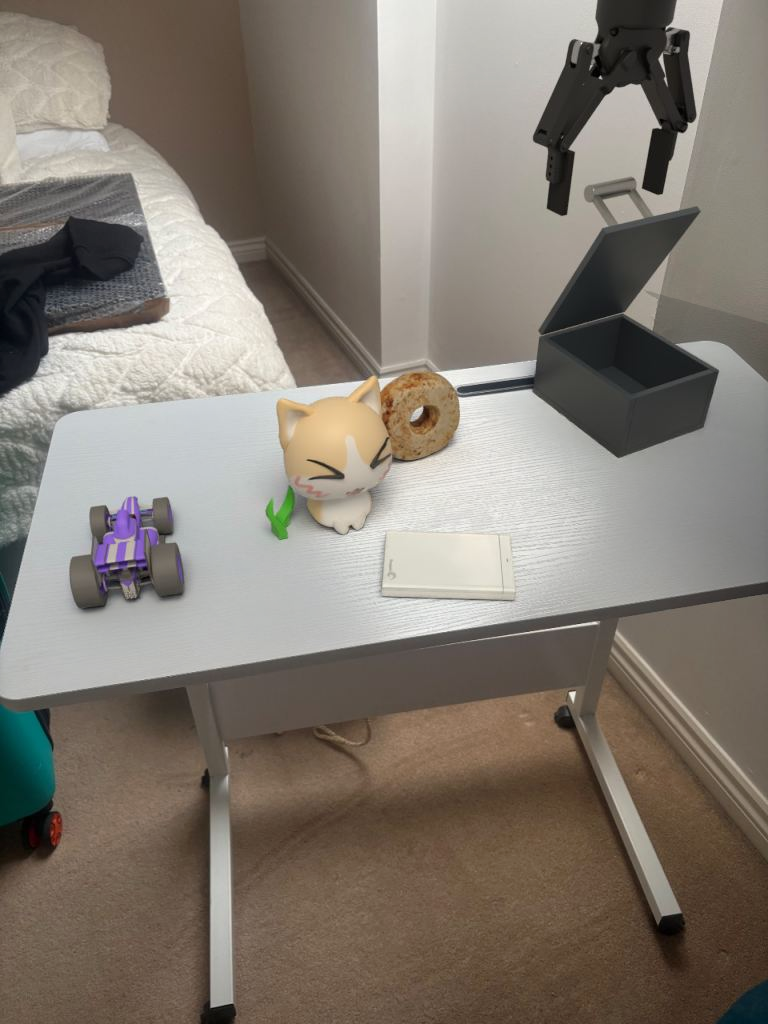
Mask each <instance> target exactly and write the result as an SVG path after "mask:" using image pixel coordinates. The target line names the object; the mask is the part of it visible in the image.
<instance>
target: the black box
mask: <svg viewBox="0 0 768 1024" xmlns="http://www.w3.org/2000/svg"><path fill="white" fill-rule="evenodd" d="M719 373H720V369H718V368H717V367H715V366H713V365H711V364H710V363H708V362H706V361H705V360H703V359H702V358H699V357H698V356H696V355H695V354H693V353H691V352H690V351H688V350H686V349H684V348H683V347H681V346H679V345H677V344H676V343H674V342H672V341H671V340H669V339H667V338H666V337H664V336H663V335H661V334H659V333H658V332H656V331H654V330H652V329H650V328H649V327H647V326H645V324H642V323H640V322H638V321H637V320H635V319H634V318H631V317H630V316H628V315H626V314H625V313H624V312H623V313H619V314H616V315H612V316H609V317H605V318H602V319H598V320H594V321H591V322H587V323H584V324H580V325H577V326H573V327H569V328H566V329H562V330H559V331H555V332H552V333H548V334H544V335H540V336H538V344H537V353H536V361H535V368H534V378H533V384H532V385H533V386H532V393H534V394H535V395H536V396H537V397H539V398H540V399H542V401H544V402H545V403H546V404H548V405H549V406H550V407H552V408H553V409H554V410H555V411H557V412H558V413H560V414H561V415H562V416H563V417H565V418H566V419H567V420H569V422H571V423H573V424H574V425H575V426H576V427H578V428H579V429H580V430H582V431H583V432H584V433H585V434H587V435H588V436H589V437H591V438H592V439H593V440H594V441H596V442H597V443H598V444H600V446H602V447H603V448H605V449H606V450H608V452H610V453H611V454H613V455H614V457H617V458H619V459H620V458H623V457H624V456H628V455H631V454H633V453H636V452H639V451H642V450H644V449H647V448H649V447H653V446H656V445H658V444H660V443H664V442H666V441H670V440H672V439H675V438H678V437H681V436H683V435H686V434H689V433H691V432H694V431H697V430H701V429H703V428H704V427H705V424H706V420H707V416H708V413H709V409H710V406H711V402H712V398H713V395H714V391H715V388H716V384H717V381H718V377H719Z"/></svg>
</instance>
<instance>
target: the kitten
mask: <svg viewBox="0 0 768 1024" xmlns="http://www.w3.org/2000/svg"><path fill="white" fill-rule="evenodd" d="M379 381H380V380H379V378H378V377H377V375H371V376H370V377H368V378H367V379H366V380H365V381H364V382H363V383H362V384H360V385H359V386H358V387H357V388H356V389H354V390H353V391H351V393H350V394H349V395H348V396H330V397H323V398H321V399H318V400H316V401H314V402H311V403H310V404H305V403H301V402H297V401H293V400H290V399H287V398H285V397H281V398H279V399H278V400H277V401H276V406H275V409H276V416H277V423H278V440H279V441H278V442H279V444H280V447H281V449H282V451H283V454H282V455H283V466H284V471H285V475H286V478H287V481H288V483H289V485H288V486H287V491H286V493H285V497H284V500H283V503H282V505H281V506H280V508H279V509H278V511H277V512H276V514H275V511H274V496H272V497H271V499H270V500H269V501H268V504H267V505H266V508H265V510H264V511H265V516H266V518H267V519H268V520H269V522H270V526H271V532H272V533H273V534H274V535H275V536H276V537H277V538H278V540H283V539H288V537H289V536H288V530H287V527H288V526H289V525H291V521H290V517H291V516H292V513H293V511H294V510H295V504H296V497H295V493H297V494H298V495H300V496H301V497H303V498H305V499H306V506H307V510H308V511H309V513H310V514H311V516H312V517H313V518H314V520H315V521H316V522H317V523H319V524H321V525H322V526H325V527H329V528H334V530H335V531H336V532H337V533H339V534H341V535H346V534H347V533H348V532H349V529H350V526H351V527H352V528H353V529H354V530H356V531H358V530H359V531H360V530H361V529H362V528H363V527H364V524H365V522H366V518H367V516H368V514H369V513H370V512H371V509H372V497H371V494H370V492H369V490H371V489H372V488H374V487H376V486H377V485H378V484H380V483H381V482H383V480H384V479H385V478H386V477H387V475H388V474H389V473H390V470H391V467H392V463H393V456H392V448H391V443H390V437H389V435H388V432H387V429H386V427H385V425H384V423H383V421H382V407H381V396H380V392H381V387H380V382H379Z"/></svg>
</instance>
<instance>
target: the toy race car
mask: <svg viewBox="0 0 768 1024" xmlns="http://www.w3.org/2000/svg"><path fill="white" fill-rule="evenodd" d="M88 515H89V526H90V527H89V528H90V532H91V536H92V537H91V547H90V553H89V554H82V555H74V556H72V557H71V559H70V562H69V570H68V571H69V573H68V575H69V585H70V591H71V594H72V598H73V601H74V603H75V605H76V607H77V608H78V609H85V608H92V607H100V606H104V605H106V602H107V599H108V598H107V597H108V591H110V590H121V591H122V592H121V593H122V596H123V598H124V600H130V599H137V598H139V597H140V590H141V586H145V585H149V584H152V585H153V586H154V590H155V593H156V595H157V596H158V597H167V596H172V595H179V594H183V593H184V590H185V578H184V575H185V574H184V567H183V563H182V562H183V561H182V556H181V551H180V548H179V545H178V544H177V542H176V541H175V542H166V540H165V539H166V537H165V536H166V535H165V534H172V533H173V531H174V517H173V511H172V506H171V501H170V499H169V497H168V496H163V497H155V498H153V499H152V503H151V504H148V505H140V504H139V498H138V496H136V495H133V496H127V497H126V498H125V499H124V501H123V502H122V504H121V507H120V508H117V509H109V508H108V506H107V505H106V504H101V505H95V506H90V508H89V513H88ZM142 516H143V517H142ZM142 520H145V521H142ZM151 522H153V523H154V527H153V526H144V525H143V524H145V523H151ZM143 526H144V527H143ZM99 543H102V544H99ZM107 573H108V575H107ZM144 577H149V578H150V581H145V582H142V579H143V578H144ZM109 582H119V586H109Z"/></svg>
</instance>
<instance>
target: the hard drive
mask: <svg viewBox="0 0 768 1024" xmlns="http://www.w3.org/2000/svg"><path fill="white" fill-rule="evenodd" d="M383 553H384V554H383V565H382V577H381V578H382V579H381V597H388V598H389V597H392V598H397V597H398V598H420V599H421V598H422V599H424V598H425V599H428V598H429V599H459V600H460V599H463V600H497V601H499V600H500V601H515V600H516V596H517V595H516V589H517V588H516V579H515V577H516V576H515V569H514V560H513V547H512V538H511V534H510V533H509V534H508V533H507V534H506V533H478V532H477V533H476V532H451V531H449V532H448V531H418V530H391V529H390V530H386V531H385V540H384V551H383Z"/></svg>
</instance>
